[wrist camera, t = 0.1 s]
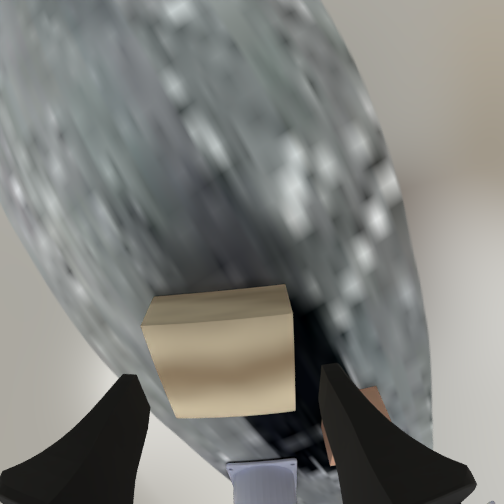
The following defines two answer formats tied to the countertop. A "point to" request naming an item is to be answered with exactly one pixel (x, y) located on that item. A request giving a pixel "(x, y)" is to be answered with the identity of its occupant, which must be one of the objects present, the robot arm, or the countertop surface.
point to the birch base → (224, 351)
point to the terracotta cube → (375, 399)
